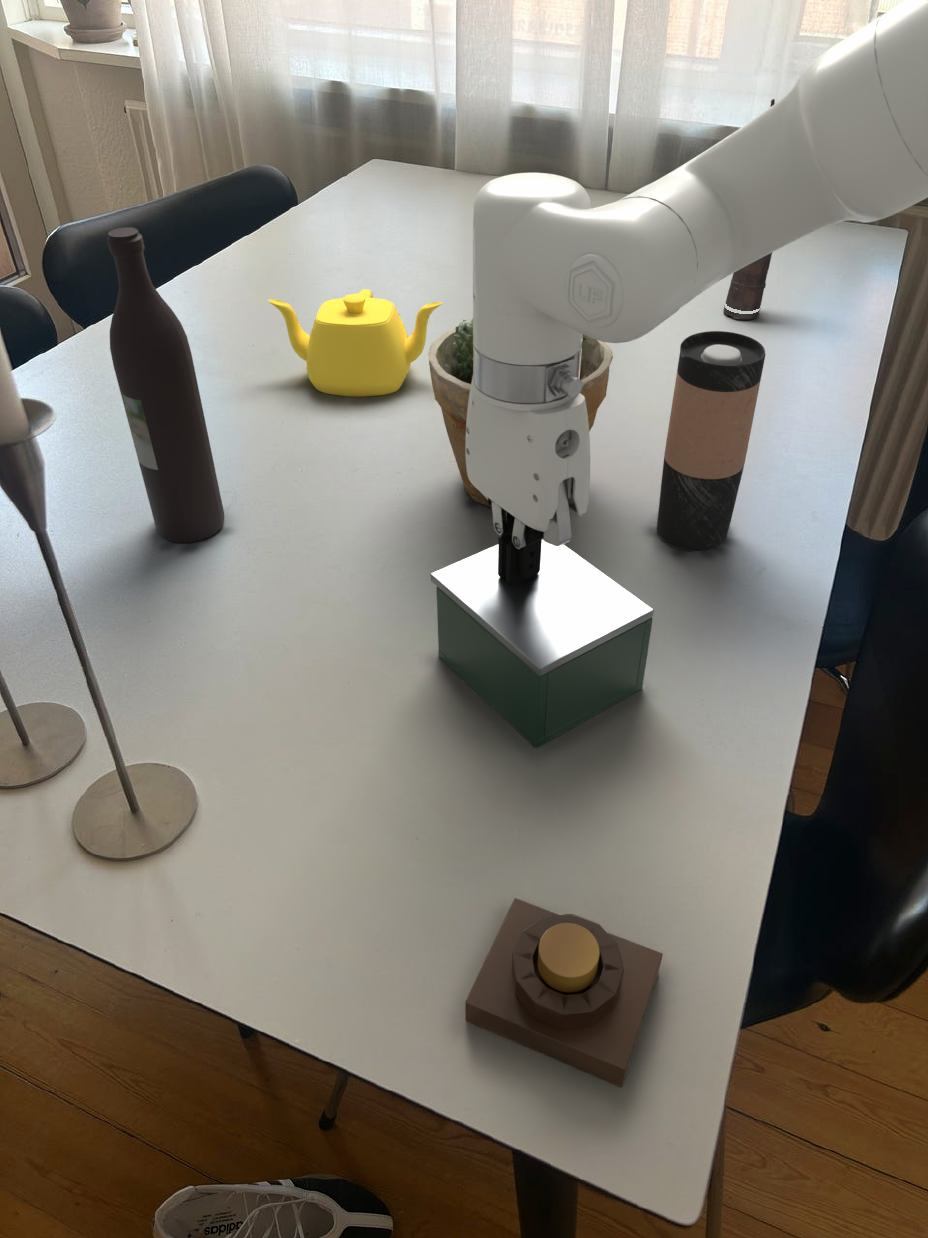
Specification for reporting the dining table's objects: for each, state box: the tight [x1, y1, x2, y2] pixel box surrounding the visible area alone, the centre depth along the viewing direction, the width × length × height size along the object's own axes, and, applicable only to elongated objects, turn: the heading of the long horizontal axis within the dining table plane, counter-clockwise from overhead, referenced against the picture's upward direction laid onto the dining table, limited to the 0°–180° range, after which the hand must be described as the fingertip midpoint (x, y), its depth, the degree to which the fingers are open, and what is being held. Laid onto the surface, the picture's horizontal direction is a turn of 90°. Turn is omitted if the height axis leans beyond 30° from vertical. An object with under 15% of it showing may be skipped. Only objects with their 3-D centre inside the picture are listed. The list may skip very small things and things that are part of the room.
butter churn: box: [723, 98, 776, 321], centre depth 132 cm, size 9×10×28 cm
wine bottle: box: [106, 226, 225, 544], centre depth 91 cm, size 7×7×30 cm
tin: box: [435, 586, 654, 749], centre depth 81 cm, size 14×12×8 cm
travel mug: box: [656, 330, 766, 553], centre depth 93 cm, size 8×8×20 cm
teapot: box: [267, 288, 443, 397], centre depth 125 cm, size 22×16×11 cm
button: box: [538, 923, 600, 993], centre depth 58 cm, size 4×4×2 cm
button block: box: [464, 897, 664, 1088], centre depth 59 cm, size 10×8×4 cm
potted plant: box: [427, 317, 614, 507], centre depth 98 cm, size 18×19×25 cm
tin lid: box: [430, 540, 655, 676], centre depth 78 cm, size 14×12×1 cm
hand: (519, 574), depth 80 cm, fingers closed
